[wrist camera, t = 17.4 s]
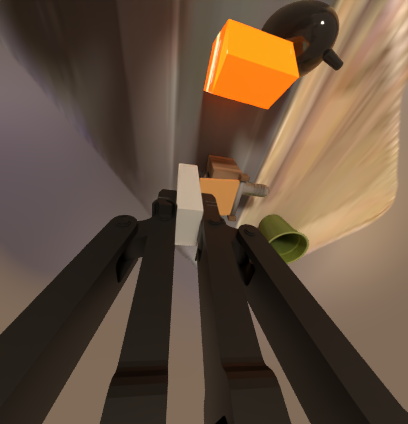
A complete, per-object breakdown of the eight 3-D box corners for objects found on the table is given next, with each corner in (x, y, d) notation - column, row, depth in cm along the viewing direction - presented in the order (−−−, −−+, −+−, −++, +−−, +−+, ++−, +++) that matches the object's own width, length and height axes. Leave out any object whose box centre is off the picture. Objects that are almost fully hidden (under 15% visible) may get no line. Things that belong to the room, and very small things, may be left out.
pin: (201, 167, 44) (203, 176, 40) (268, 177, 47) (276, 186, 43) (198, 187, 47) (199, 198, 43) (261, 195, 50) (268, 206, 45)
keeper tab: (198, 177, 35) (200, 180, 34) (244, 179, 39) (246, 182, 38) (192, 212, 40) (193, 216, 39) (233, 212, 43) (235, 215, 42)
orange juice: (243, 102, 40) (284, 115, 24) (203, 91, 38) (216, 95, 22) (257, 56, 36) (319, 31, 19) (213, 41, 34) (238, -1, 18)
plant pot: (274, 200, 54) (292, 224, 45) (296, 221, 59) (317, 246, 50) (243, 226, 59) (254, 253, 49) (266, 243, 64) (280, 270, 54)
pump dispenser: (273, 96, 40) (313, 101, 27) (238, 55, 36) (267, 39, 23) (315, 47, 36) (384, 27, 23) (281, -5, 32) (344, -64, 19)
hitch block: (208, 153, 45) (215, 172, 36) (236, 158, 47) (249, 177, 37) (201, 192, 51) (205, 218, 41) (225, 195, 52) (235, 221, 42)
